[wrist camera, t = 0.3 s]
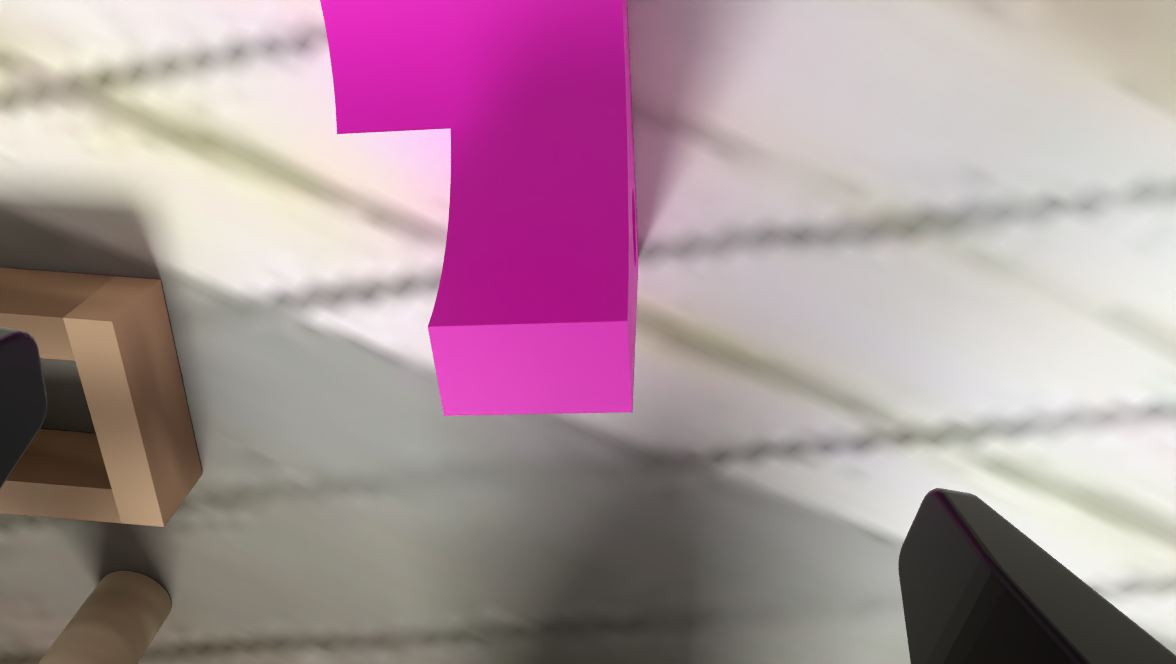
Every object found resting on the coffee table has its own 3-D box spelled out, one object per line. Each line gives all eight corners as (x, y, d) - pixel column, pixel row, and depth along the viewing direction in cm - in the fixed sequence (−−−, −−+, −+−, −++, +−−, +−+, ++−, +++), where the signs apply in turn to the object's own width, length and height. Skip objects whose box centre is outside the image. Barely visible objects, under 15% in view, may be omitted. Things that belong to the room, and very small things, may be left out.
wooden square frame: (207, 498, 28) (170, 551, 26) (-64, 474, 29) (-123, 526, 26) (159, 279, 24) (112, 321, 22) (-154, 255, 25) (-233, 294, 22)
